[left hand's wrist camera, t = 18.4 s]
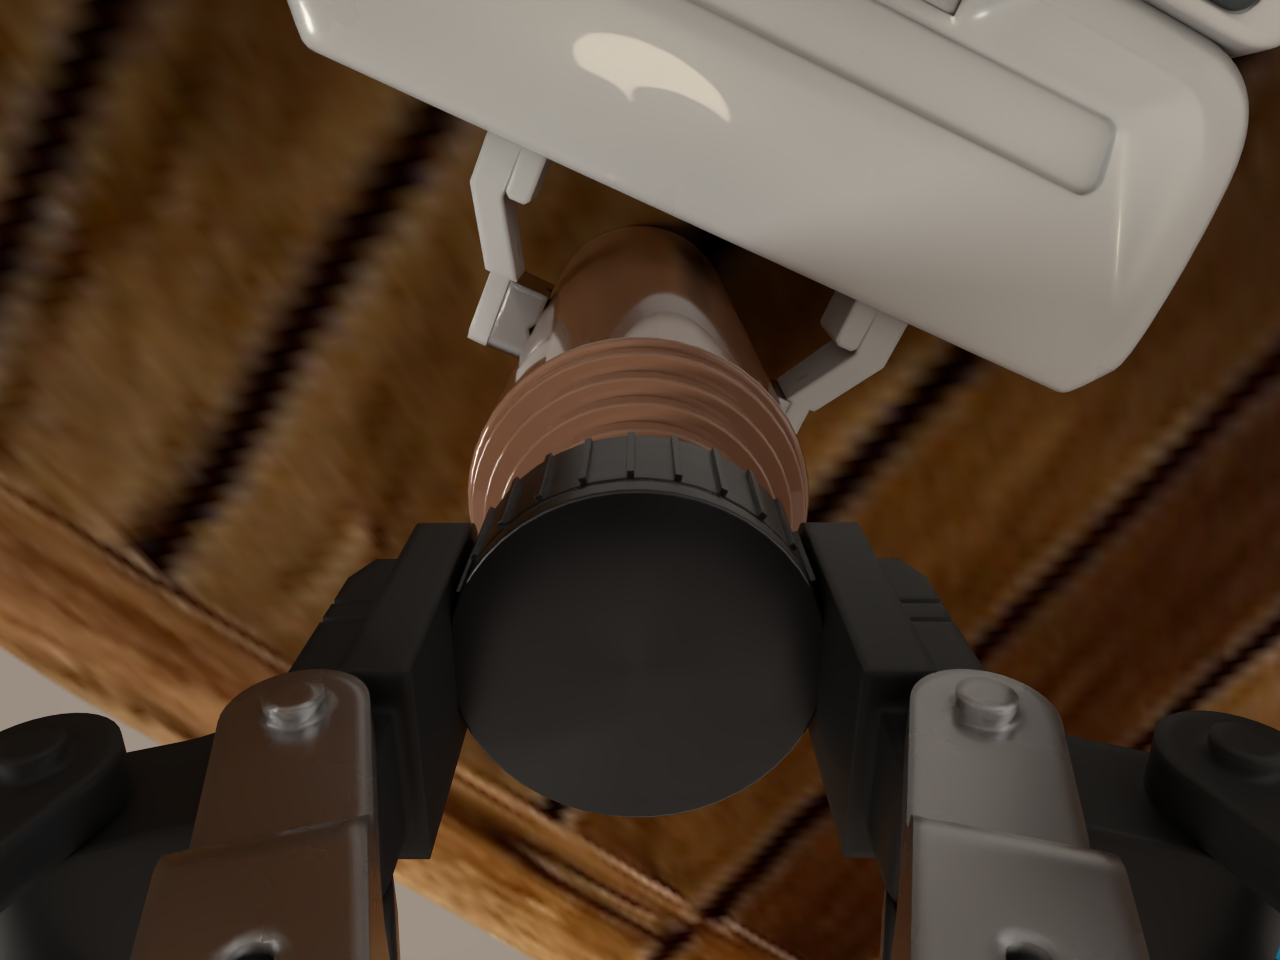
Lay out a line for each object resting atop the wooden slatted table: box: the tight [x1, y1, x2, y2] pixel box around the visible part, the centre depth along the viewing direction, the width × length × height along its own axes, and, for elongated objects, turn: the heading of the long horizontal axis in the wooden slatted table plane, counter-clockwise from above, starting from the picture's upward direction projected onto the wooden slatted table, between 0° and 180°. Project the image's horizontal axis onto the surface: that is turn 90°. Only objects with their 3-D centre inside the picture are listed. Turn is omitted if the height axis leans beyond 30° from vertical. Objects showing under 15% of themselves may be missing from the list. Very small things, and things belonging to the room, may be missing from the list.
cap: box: [451, 432, 824, 817], centre depth 11 cm, size 4×4×2 cm
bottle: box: [468, 226, 809, 535], centre depth 20 cm, size 6×6×19 cm
